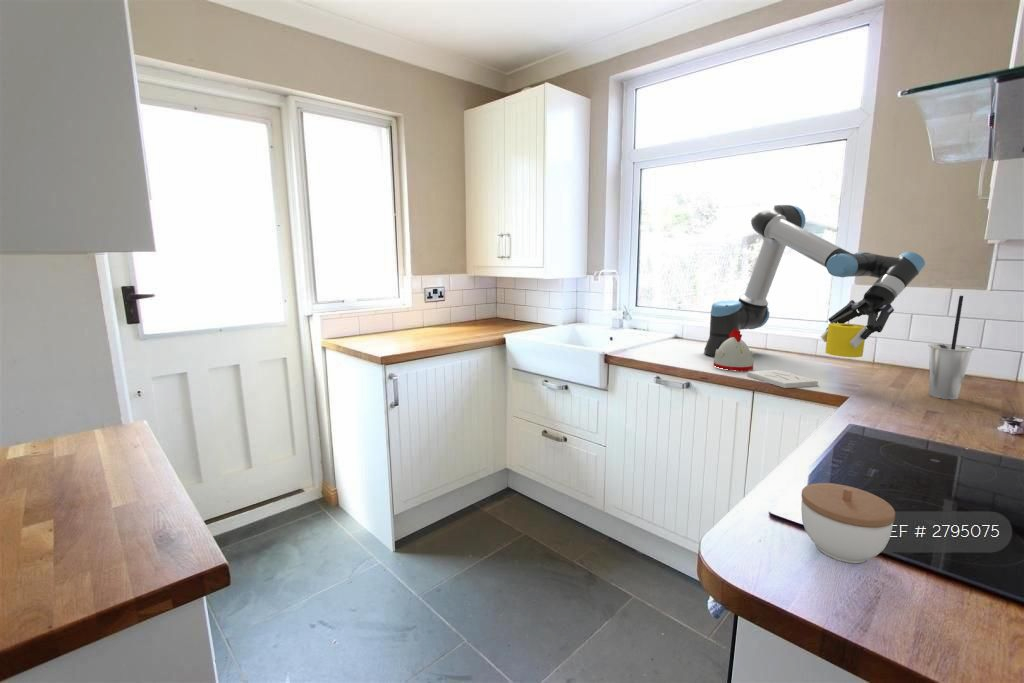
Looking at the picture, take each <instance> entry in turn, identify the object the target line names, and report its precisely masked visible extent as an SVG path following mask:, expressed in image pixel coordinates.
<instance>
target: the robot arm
mask: <svg viewBox="0 0 1024 683" xmlns="http://www.w3.org/2000/svg"><path fill="white" fill-rule="evenodd" d="M750 221H751V222H750V223H751V227H752V230H754V231H755V232H756V233H757V234H758V235H760V236H761V239H762V244H761V247H760V249H759V253H758V255H757V258H756V262H755V264H754V267H753V270H752V273H751V276H750V279H749V281H748V284H747V286H746V290H745V292H744V293H743V294H741V295H740V296H739V299H738V300H734V299H733V300H720V301H716V302H714V303H712V306H711V309H710V310H711V311H710V322H709V337H708V339H707V342H706V344H705V347H704V351H703V354H704V353H705V355H706V354H708V355H707V356H709V355H712V356H711V357H713V356H715V353H716V349H719V347H720V346H721V344H722V343H723V342H724V341H726V340H727V339H729V334H731V331H733V329H736V330H737V329H738V331H741V330H755V329H759V328H761V327H763V326H764V325H765V324H766V323H767V322H768V320H769V318H770V310H769V306H768V305H769V302H768V300H767V296H768V295H769V292H770V289H771V288H772V287H771V286H772V284H773V281H774V278H775V276H776V273H777V270H778V267H779V265H780V262H781V260H782V257H783V255H784V252H785V249H786V246H787V247H788V248H790V249H792V250H793V251H796V252H797V253H799V254H801V255H803V256H804V257H806V258H808V259H810V260H812V261H814V262H815V263H817V264H818V265H821V266H822V267H824V268H826V270H827V272H828V274H830V275H831V276H833V277H838V278H848V277H870V278H876V280H875V282H873V284H872V285H871V286H870V287H869V288H868V290H867V291H866V292H865V293H864V294H863V298H862V299H861V300H859V301H855V300H853V299H852V300H849V302H848V303H847V304H846V305H845V306H843V307H842V308H840V310H838V311H837V312H836V313H834V314H833V315H832V316H830V317H829V318H828V319H827V320H828V321H829V322H830V323H829V324H831V323H845V324H847V322H850V321H851V320H853V319H855V318H856V317H862V316H868V317H867V322H866V325H865V326H866V327H863V328H862V329H861V330H860V331H859V332H858V333H857V335H856V336H855V337H854V338H853V339H852V340H851V341H850V343H851V345H852V346H853V348H857V347H858V345H859V344H860V343H861V342H862V341H863V340H866V339H869V337H870V336H871V335H872V334H873V333H875V332H877V333H881V332H882V331H883V329H884V327H885V326H886V323H887V321H888V319H889V317H890V315H891V314H892V313H893V312H894V311H895V308H894V307H893V306H892V303H893V302H894V301H895V300H896V298H897V297H898V296H899V295H900V294H902V292H903V291H904V290H905V289H906V287H907V286H908V285H909V284H910V283H912V281H913V280H914V279H915V278H917V276H918V275H919V273H920V272H921V271H922V270H923V268H924V267H925V266H926V262H925V259H924V258H923V256H922V255H920V254H919V253H917V252H913V251H905V252H902V253H901V254H900V255H898V256H897V257H895V256H887V255H881V254H876V253H871V252H862V251H861V252H860V251H858V252H857V251H856V253H852V252H850V251H848V250H846V249H843V248H842V247H840V246H838V245H836V244H834V243H832V242H831V241H828V240H826V239H824V238H822V237H820V236H818V235H816V234H814V233H812V232H811V231H808V230H807V229H804V227H805V224H806V215H805V213H804V210H803V209H801V208H800V207H798V206H797V205H796V206H795V205H791V204H773V203H768V204H763V205H761V206H760V207H758V208H757V209H756V210H755V211H754V213H753V214H752V216H751V220H750ZM827 334H828V327H827V328H825V331H824V332H823V333H822V334H821V335H820V338H821V339H822V341H823V342H824V343H826V342H827Z"/></svg>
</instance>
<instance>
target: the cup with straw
mask: <svg viewBox="0 0 1024 683" xmlns="http://www.w3.org/2000/svg"><path fill="white" fill-rule="evenodd" d="M963 301H964V295H959V296H958V303H957V308H956V309H957V310H956V314H955V321H954V329H953V335H952V342H951V344H947V343H946V344H945V343H931V344H930V343H929V344H928V345H927V346H928V347H929V365H928V366H929V367H928V368H929V369H928V370H929V372H928V375H929V383H928V384H929V386H928V388H929V389H928V390H929V391H928V396H930V397H932V396H934V397H933V398H935V397H937V398H936V399H939V398H942V400H947V399H951V400H950V401H953V400H955V399H956V400H958V399H959V398H958V397H959V395H960V391H961V388H962V385H963V381H964V378H965V375H966V372H967V368H968V364H969V361H970V359H971V355H972V351H975V348H974V347H970V346H964V345H958V344H957V340H958V339H957V338H958V332H959V327H960V320H961V313H962V308H963ZM956 400H955V401H956Z"/></svg>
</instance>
